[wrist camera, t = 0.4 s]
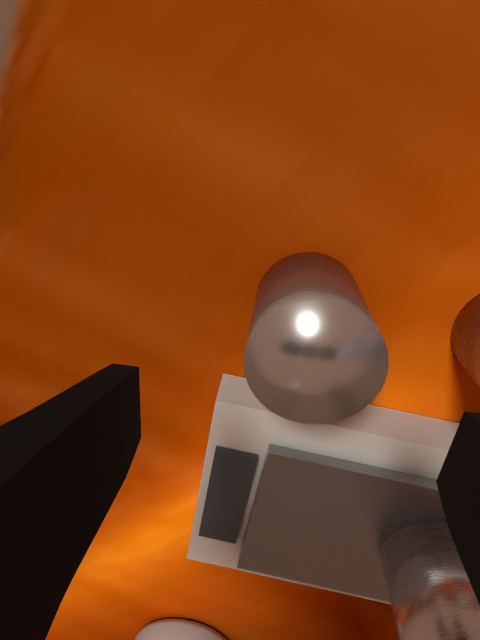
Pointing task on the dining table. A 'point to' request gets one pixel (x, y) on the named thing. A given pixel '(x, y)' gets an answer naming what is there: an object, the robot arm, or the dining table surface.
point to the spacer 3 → (468, 338)
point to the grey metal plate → (331, 519)
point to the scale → (325, 439)
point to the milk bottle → (177, 631)
